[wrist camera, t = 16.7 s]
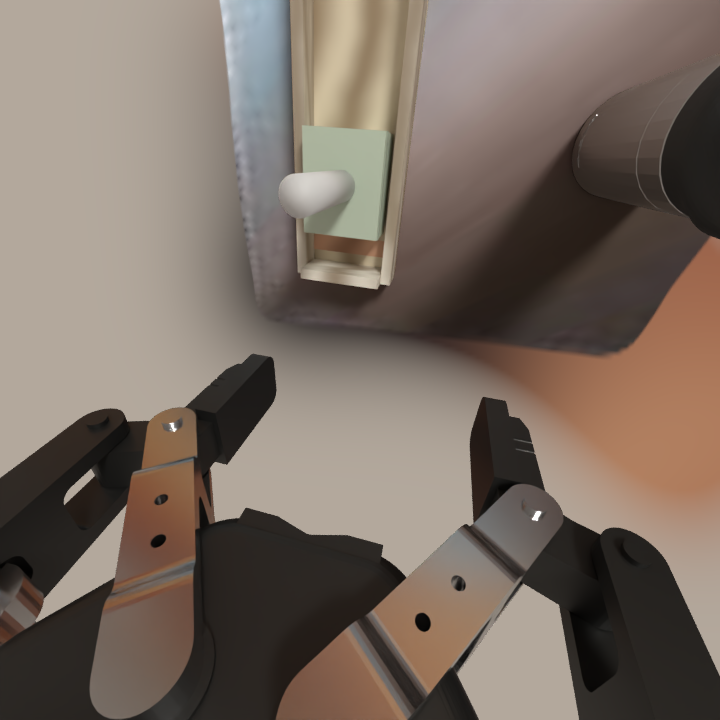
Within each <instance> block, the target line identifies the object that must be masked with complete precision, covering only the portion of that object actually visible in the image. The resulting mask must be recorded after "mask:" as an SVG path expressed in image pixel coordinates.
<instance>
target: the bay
mask: <svg viewBox="0 0 720 720" xmlns="http://www.w3.org/2000/svg"><path fill="white" fill-rule="evenodd" d="M427 8H428V0H290V22H291V56H292V91H293V126H294V160H295V174H296V173H303V151H302V125H308V126H322V127H337V128H351V129H365V130H380V131H389V133H391V134H393V135H394V136H393V146H392V156H391V165H390V175H389V185H388V195H387V205H386V215H385V225H384V233H383V234H382V235H381V236H380V237H379V239H378V240H377V241H372V240H364V239H356V238H348V237H339V236H331V235H323V234H315V233H307V232H304V218H301V219H299V218H296V230H297V265H298V273H301V278H302V279H309V280H316V281H323V282H330V283H337V284H344V285H351V286H357V287H364V288H371V289H378V287H379V285H380V284H382V285H389V286H390V284H391V281H392V279H393V277H394V272H395V264H396V256H397V248H398V240H399V232H400V224H401V216H402V208H403V200H404V192H405V184H406V176H407V168H408V160H409V152H410V144H411V136H412V128H413V120H414V112H415V104H416V96H417V88H418V80H419V72H420V64H421V56H422V48H423V40H424V32H425V24H426V16H427Z"/></svg>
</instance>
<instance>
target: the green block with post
mask: <svg viewBox="0 0 720 720" xmlns="http://www.w3.org/2000/svg"><path fill="white" fill-rule="evenodd" d="M393 136H394V135H393V134H391V133H389V131H380V130H365V129H351V128H337V127H322V126H308V125H302V151H303V173H296V174H290V175H288V176H286V177H285V178H284V179H283V180H282V182H281V184H280V186H279V201H280V204H281V206H282V208H283V209H284V210H285V212H286V213H287V214H289V215H290V216H292V217H294V218H299V219H301V218H304V232H307V233H315V234H323V235H331V236H339V237H348V238H356V239H364V240H372V241H377V240H378V239H379V237H380V236H381V235H382V234H383V233H384V225H385V215H386V205H387V195H388V185H389V175H390V165H391V156H392V146H393Z"/></svg>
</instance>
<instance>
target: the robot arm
mask: <svg viewBox="0 0 720 720" xmlns="http://www.w3.org/2000/svg"><path fill="white" fill-rule="evenodd" d="M572 168H573V173H574V176H575V178H576V180H577V182H578V184H579V185H580V186H581V187H582V188H583V189H584V190H585V191H587V192H588V193H590V194H592V195H595V196H598V197H602V198H606V199H610V200H614V201H618V202H622V203H626V204H630V205H635V206H639V207H643V208H647V209H652V210H656V211H660V212H664V213H669V214H673V215H678V216H682V217H687V218H690V219H691V221H692V223H693V224H694V225H695V226H696V227H697V228H698V229H699V230H701V231H702V232H704V233H706V234H707V235H710V236H712V237H716V238H718V239H720V53H718V54H716V55H713V56H711V57H708V58H706V59H703V60H701V61H698V62H696V63H693V64H690V65H688V66H685V67H683V68H680V69H678V70H675V71H673V72H670V73H668V74H665V75H663V76H660V77H658V78H655V79H653V80H650V81H648V82H645V83H643V84H640V85H638V86H635V87H633V88H630V89H628V90H625V91H623V92H621V93H619V94H617V95H615V96H614V97H612V98H610V99H609V100H607V101H606V102H605V103H603V104H602V105H601V106H600V107H599V108H597V109H596V111H595V112H594V113H593V114H592V115H591V116H590V117H589V118H588V120H587V121H586V123H585V124H584V126H583V127H582V129H581V130H580V132H579V135H578V137H577V139H576V141H575V145H574V149H573V153H572ZM275 396H276V380H275V369H274V361H273V358H272V357H268V356H262V355H256V354H252V355H250V356H249V357H248V358H247V359H246V360H245V361H244V362H243V363H242V364H236V365H234V366H232V367H230V368H228V369H226V370H225V371H224V372H223V373H222V374H221V375H219V377H218V378H217V379H215V380H214V381H213V382H212V383H211V384H210V386H208V387H207V388H205V389H204V390H203V391H202V392H201V393H200V394H199V395H198V396H197V397H196V398H195V399H193V400H192V401H191V402H190V403H189V404H188V405H187V406H186V407H185V408H172V409H168V410H165V411H163V412H161V413H159V414H157V415H156V416H154V418H152V419H151V420H150V421H132V422H127V420H126V417H125V415H124V413H123V412H122V411H121V410H118V409H102V410H98V411H94V412H92V413H89V414H87V415H85V416H83V417H82V418H80V419H79V420H77V421H76V422H75V423H73V424H72V425H71V426H69V427H68V428H67V429H65V430H64V431H63V432H61V433H60V434H59V435H57V436H56V437H55V438H53V439H52V440H51V441H49V442H48V443H47V444H45V445H44V446H43V447H41V448H40V449H39V450H37V451H36V452H35V453H33V454H32V455H31V456H29V457H28V458H27V459H25V460H24V461H23V462H21V463H20V464H19V465H17V466H16V467H15V468H13V469H12V470H11V471H9V472H8V473H6V474H5V475H4V476H2V477H1V478H0V720H479V719H478V717H477V715H476V713H475V710H474V709H473V706H472V705H471V703H470V700H469V698H468V696H467V694H466V692H465V690H464V688H463V686H462V684H461V682H460V680H459V678H458V676H457V674H458V672H459V671H460V670H461V668H462V667H463V666H464V664H465V663H466V662H467V660H468V659H469V658H470V656H471V655H472V654H473V652H474V651H475V649H476V648H477V647H478V645H479V644H480V643H481V641H482V640H483V638H484V636H485V635H486V634H487V632H488V631H489V630H490V628H491V627H492V626H493V624H494V623H495V621H496V620H497V619H498V618H499V616H500V615H501V614H502V612H503V611H504V610H505V608H506V607H507V606H508V604H509V603H510V601H511V600H512V599H513V597H514V596H515V595H516V594H517V592H518V591H519V589H520V588H521V587H522V586H523V584H525V585H527V586H529V587H531V588H532V589H534V590H535V591H537V592H539V593H540V594H542V595H544V596H545V597H547V598H549V599H550V600H552V601H554V602H555V603H557V604H559V606H560V613H561V618H562V624H563V629H564V635H565V641H566V646H567V653H568V658H569V664H570V670H571V675H572V681H573V687H574V692H575V698H576V704H577V709H578V715H579V720H720V676H719V674H718V671H717V669H716V667H715V665H714V663H713V661H712V659H711V656H710V654H709V652H708V650H707V648H706V645H705V643H704V641H703V639H702V637H701V635H700V632H699V630H698V628H697V626H696V624H695V622H694V620H693V617H692V615H691V613H690V611H689V609H688V607H687V604H686V603H685V600H684V598H683V596H682V594H681V591H680V589H679V587H678V585H677V583H676V581H675V578H674V576H673V574H672V572H671V570H670V568H669V566H668V564H667V562H666V560H665V559H664V557H663V556H662V555H661V554H660V552H659V551H658V550H657V549H656V548H655V547H654V546H652V545H651V544H650V543H649V542H648V541H646V540H645V539H643V538H642V537H640V536H638V535H637V534H635V533H633V532H631V531H628V530H625V529H621V528H609V529H606V530H604V531H603V532H602V534H601V535H600V534H598V533H596V532H594V531H592V530H590V529H588V528H586V527H584V526H582V525H580V524H578V523H576V522H574V521H572V520H570V519H569V518H567V517H565V516H564V515H563V513H562V510H561V508H560V506H559V505H558V503H557V502H556V501H555V500H554V498H553V497H551V496H550V495H549V494H548V493H547V492H545V489H544V485H543V481H542V478H541V474H540V470H539V467H538V463H537V459H536V455H535V454H534V448H533V444H532V441H531V437H530V433H529V430H528V428H527V427H526V426H525V425H524V423H523V422H522V421H521V420H520V419H519V418H515V417H510V416H509V413H508V409H507V404H506V401H503V400H497V399H492V398H486V397H483V398H482V400H481V403H480V406H479V409H478V412H477V415H476V418H475V421H474V425H473V428H472V431H471V437H470V459H471V460H470V461H471V480H472V499H473V500H472V501H473V520H474V524H473V525H471V526H468V525H467V524H465V525H463V526H461V527H460V528H459V529H458V530H457V531H456V532H455V533H454V534H453V535H451V536H450V537H449V538H448V539H447V540H446V541H445V542H444V543H443V544H442V545H441V546H440V547H439V548H438V549H437V550H436V551H435V552H433V553H432V554H431V555H430V556H429V557H428V558H427V559H426V560H425V561H424V562H423V563H422V564H421V565H420V566H419V567H418V568H417V569H415V570H414V571H413V572H412V573H411V574H410V575H409V576H408V577H407V578H406V577H405V575H404V574H403V573H402V572H401V571H400V570H399V569H398V568H397V567H396V566H394V565H393V564H392V563H390V562H389V561H387V560H386V559H384V558H383V557H381V555H382V549H383V545H381V544H377V543H373V542H370V541H366V540H363V539H359V538H355V537H351V536H348V535H309V534H306V533H304V532H303V531H301V530H299V529H298V528H296V527H294V526H293V525H291V524H289V523H288V522H286V521H285V520H283V519H281V518H280V517H278V516H275V515H271V514H267V513H264V512H260V511H256V510H253V509H249V508H245V510H244V511H243V513H242V515H241V516H240V518H235V519H227V520H223V521H219V522H215V517H214V506H213V493H212V478H211V470H210V467H211V466H212V464H213V463H214V462H219V463H222V464H226V465H227V464H228V462H229V461H230V460H231V459H232V457H233V456H234V455H235V453H236V452H237V451H238V449H239V448H240V447H241V445H242V444H243V443H244V441H245V440H246V439H247V437H248V436H249V434H250V433H251V432H252V430H253V429H254V428H255V426H256V425H257V424H258V422H259V421H260V420H261V418H262V417H263V416H264V414H265V413H266V411H267V410H268V409H269V408H270V406H271V405H272V403H273V402H274V399H275ZM90 469H92V471H93V472H94V474H95V477H94V478H93V479H91V480H90V481H89V482H88V483H87V484H86V485H85V486H84V487H83V488H82V489H81V490H80V491H79V492H78V493H77V494H76V495H75V496H74V497H73V498H71V499H70V501H68V502H67V503H66V504H65V505H64V497H65V495H66V493H67V491H68V490H69V489H70V487H71V486H73V485H74V484H75V483H76V482H77V481H78V480H79V479H80V478H81V477H82V476H84V474H86V473H87V472H88V471H89V470H90ZM126 504H127V507H126V513H125V519H124V526H123V532H122V538H121V544H120V550H119V557H118V562H117V568H116V575H115V578H113V579H112V580H110V581H108V582H106V583H105V584H103V585H101V586H99V587H98V588H96V589H95V590H92V591H91V592H89V593H87V594H85V595H84V596H82V597H80V598H79V599H77V600H75V601H73V602H72V603H70V604H68V605H66V606H65V607H63V608H61V609H60V610H58V611H56V612H54V613H53V614H51V615H49V616H47V617H45V618H44V619H42V620H40V621H39V622H37V623H36V621H35V620H36V618H37V617H38V615H39V613H40V611H41V609H42V607H43V602H44V598H45V597H46V596H47V595H48V594H49V592H50V591H51V590H52V589H53V588H54V587H55V586H56V584H57V583H58V582H59V581H60V580H61V579H62V578H63V576H64V575H65V574H66V573H67V572H68V571H69V570H70V568H71V567H72V566H73V565H74V564H75V563H76V561H77V560H78V559H79V558H80V557H81V556H82V555H83V554H84V552H85V551H86V550H87V549H88V548H89V547H90V545H91V544H92V543H93V542H94V541H95V540H96V539H97V538H98V536H99V535H100V534H101V533H102V532H103V531H104V530H105V528H106V527H107V526H108V525H109V524H110V523H111V522H112V520H113V519H114V518H115V517H116V516H117V515H118V514H119V512H120V511H121V510H122V509H123V508H124V507H125V506H126Z"/></svg>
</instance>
